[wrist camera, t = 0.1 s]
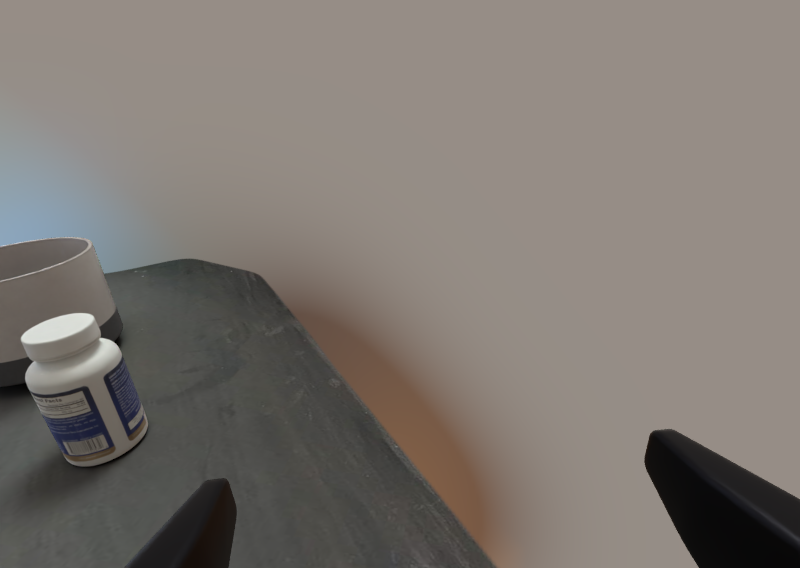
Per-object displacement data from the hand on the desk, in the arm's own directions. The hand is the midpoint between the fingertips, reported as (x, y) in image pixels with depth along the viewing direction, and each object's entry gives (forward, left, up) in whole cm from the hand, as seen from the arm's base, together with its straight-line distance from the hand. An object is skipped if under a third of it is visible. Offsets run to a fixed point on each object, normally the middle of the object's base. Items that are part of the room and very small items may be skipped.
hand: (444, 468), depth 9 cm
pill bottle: (+20, +22, -15) cm, 33 cm away
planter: (+33, +34, -15) cm, 50 cm away
